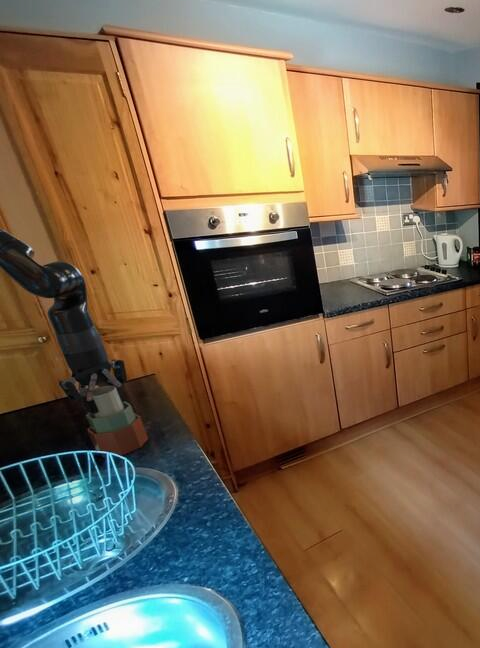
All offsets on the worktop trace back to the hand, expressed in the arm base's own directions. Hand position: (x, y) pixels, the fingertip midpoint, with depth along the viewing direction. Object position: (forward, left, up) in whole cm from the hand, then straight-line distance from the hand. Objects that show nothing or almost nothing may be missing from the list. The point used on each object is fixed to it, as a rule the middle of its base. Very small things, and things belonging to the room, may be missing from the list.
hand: (107, 406), depth 116 cm
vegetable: (+8, +28, -12) cm, 32 cm away
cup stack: (0, 0, -12) cm, 12 cm away
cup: (0, 0, -5) cm, 5 cm away
